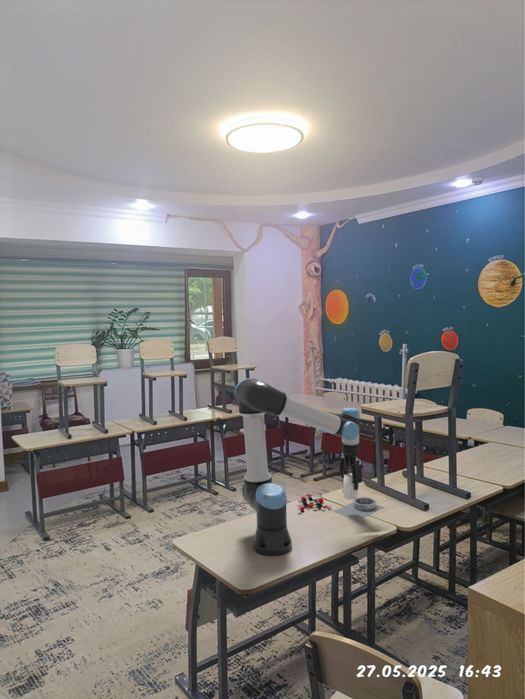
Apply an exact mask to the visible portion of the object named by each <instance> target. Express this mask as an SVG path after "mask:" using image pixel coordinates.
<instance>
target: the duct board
mask: <svg viewBox="0 0 525 699" xmlns="http://www.w3.org/2000/svg"><path fill="white" fill-rule="evenodd" d="M361 504H363V505H369V504H366V503H361ZM384 508H385V507H384V506H381V505H379V504H376V509H374V510H371V511H361V510H358V509H355V508H354V507H353V502H351V503H348V504H346V505H344V506H342V507H339V508H338V509H335V510H334V511H332V512H333V513H336V514H339V515H341V516H344V517H346V518H347V517H348V518H350V519H353V520H356V521H361V520H363V519H364V518H366V517H369V516H371V515H372V514H374V513H376V512H379V511H381V510H383V509H384Z"/></svg>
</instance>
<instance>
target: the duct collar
mask: <svg viewBox="0 0 525 699" xmlns="http://www.w3.org/2000/svg"><path fill="white" fill-rule="evenodd" d="M352 501H353V502H352V503H353V507H354V508H355V509H358V510H361V511H371V510H374V509H376V505H377V500H375V499H374V498H371V497H356V499H353V500H352ZM361 503H366V504H369V505H363V504H361Z"/></svg>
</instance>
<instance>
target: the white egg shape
mask: <svg viewBox="0 0 525 699" xmlns="http://www.w3.org/2000/svg"><path fill="white" fill-rule="evenodd" d="M355 480H356V479H355ZM352 482H353V478H352V472H351V473H349V472H348V473H347V474H344V493H343V498H344V499H346V500H348V501H349V500H351V501H354V499H356V498H357V497H352Z"/></svg>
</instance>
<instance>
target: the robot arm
mask: <svg viewBox="0 0 525 699" xmlns="http://www.w3.org/2000/svg"><path fill="white" fill-rule="evenodd" d="M234 398H235V400H236V402H237V404H238V405H237V406H238V413H239V415H241V417H242V419H243V433H244V447H245V449H244V450H245V460H246V461H245V462H246V474H244V475H243V483H242V485H241V495H242V497H243V499H244V501H245V502H246V503H247V504H248V505H249V506H250V507H251V508H252V509H253V510H254V512H256V530H255V533H254V537H253V541H252V549H253V550H254V551H255V553H257V554H259V555H264V556H268V557H270V556H272V557H274V556H280V555H284V554H287V553H288V552H290V551H291V549H292V546H293V544H292V543H293V542H292V538H291V534H290V532H289V529H288V526H287V525H288V522H287V521H288V520H287V518H288V517H287V493H286V490H285V488H284V487H283V486H282V485H281V484H276V483H273V475H272V473H270V471H269V470H268V456H267V442H266V428H265V427H266V426H265V414H268V415H272V416H276V417H280V416H283V417H286V418H288V419H291V420H293V421H297V422H300V423H302V424H304V425H308V426H310V427H312V428H314V429H315V428H316V429H317V430H318V431H319V432H320V433H322V434H323V433H326V434H327V433H329V434H331V435H334V436H336V437H339V438H341V442H342V443H341V451H342V453H339V454H338V456H339V468H338V471H339V472H338V473H339V474H338V476H341V478H342V482H341V483H342V493H343V494H344V474H347V473H349V470H350V471H351V474H352V478H353V482H352V497H356V498H358V494H359V492H358V491H359V483H362V482H363V475H362V474H363V472H362V471H363V468H362V465H363V459H360V458H359V456H358V454H359V452H360V444H359V443H360V419H361V418H360V411H359V408H356V407H344V408H343V409H342V411H341V413H334V414H333V413H331V412H328V411H325V410H323V409H320V408H318V407H315V406H312V405H309V404H307V403H304V402H302V401H299V400H298V399H297V400H296V399H294V398H292V397H289V396H288V394H287V393H286V392H284V391H281V390H279V389H277V388H276V387H273V386H272V385H270V384H268V383H267V382H264V381H261V380H258V379H257V378H243V379H242V380H240V381H239V382H238V383H237V385H235V388H234ZM355 479H356V480H355Z"/></svg>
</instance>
